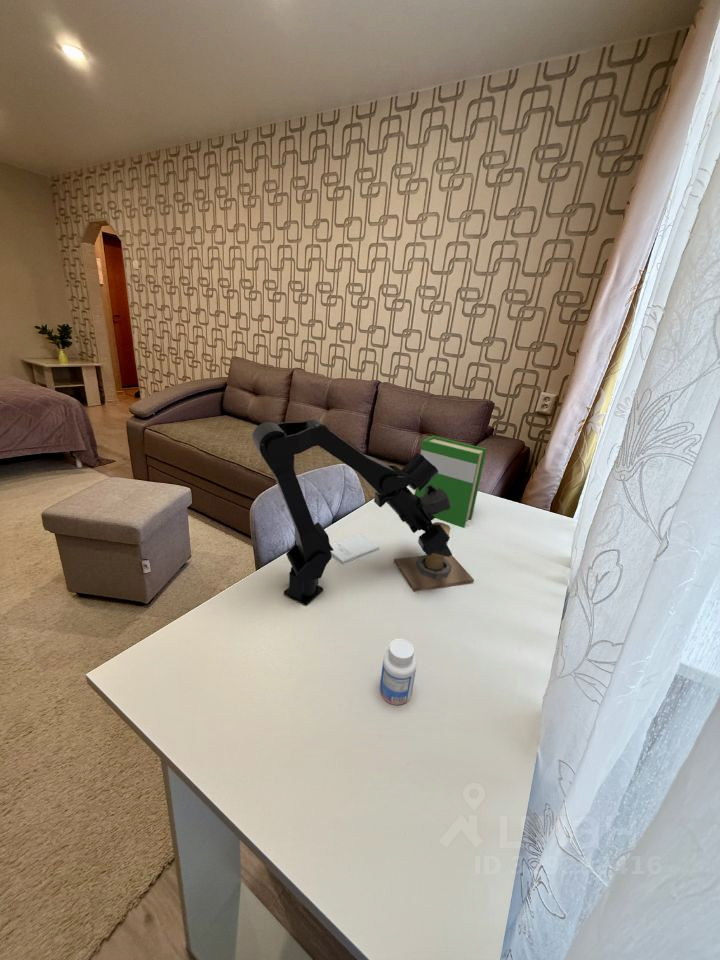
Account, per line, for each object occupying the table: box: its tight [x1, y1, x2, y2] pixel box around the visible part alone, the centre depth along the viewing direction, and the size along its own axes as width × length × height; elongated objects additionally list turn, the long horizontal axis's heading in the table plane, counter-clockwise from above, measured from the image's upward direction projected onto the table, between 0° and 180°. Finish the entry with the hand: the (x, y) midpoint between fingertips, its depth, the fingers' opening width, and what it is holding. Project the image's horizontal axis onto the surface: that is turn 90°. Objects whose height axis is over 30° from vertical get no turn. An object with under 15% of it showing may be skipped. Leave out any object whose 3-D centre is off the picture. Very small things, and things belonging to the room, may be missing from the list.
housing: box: [393, 554, 475, 593], centre depth 98 cm, size 16×12×2 cm
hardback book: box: [414, 435, 488, 529], centre depth 124 cm, size 18×7×24 cm, turn 57°
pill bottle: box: [379, 638, 418, 705], centre depth 64 cm, size 6×5×10 cm
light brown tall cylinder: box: [424, 521, 451, 572], centre depth 96 cm, size 4×4×12 cm
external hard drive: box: [330, 533, 380, 565], centre depth 105 cm, size 2×8×12 cm
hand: (443, 544), depth 96 cm, fingers open, 9 cm apart
